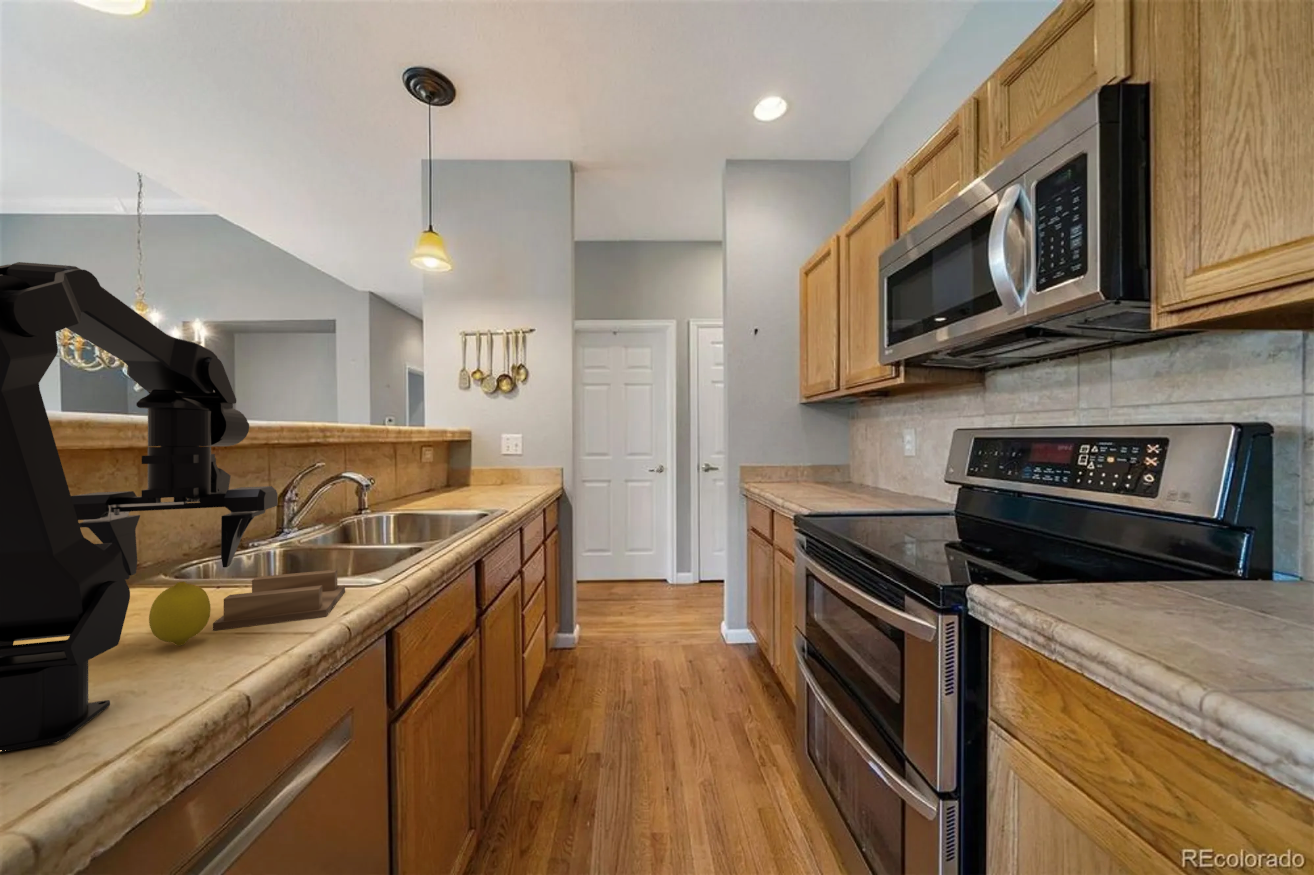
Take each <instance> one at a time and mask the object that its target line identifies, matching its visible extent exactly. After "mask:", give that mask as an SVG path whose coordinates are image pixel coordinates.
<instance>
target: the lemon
mask: <svg viewBox="0 0 1314 875" xmlns="http://www.w3.org/2000/svg"><path fill="white" fill-rule="evenodd" d="M210 615H211V602H210V598H209V596H208V593H207V592H206V591H205V589H203V588H202V587H200V586H198V585H196V584H191V583H187V582H185V581H179V582H176V583H175V584H174V585H173V586H170V587H168V588H166V589H165V590H163V591H162V592H160V594H159V595H157V597H155V599H154V601H153V602H152V604H151V608H150V611H149V615H148V623H149V628H150V631H151V633H152V634H153V636H154V637H155V638H157V639H158V640H159V641H162V642H166V643H172V644H174V645H176V646H183V645H185V644H186V643H187V642H188V641H189V640H190V639H192V638H194V637H195V636H197V635H198V634H199V633H201V631H203V630H204V629H205V627H206V626H207V624H208V622H209V620H210V617H211V616H210Z"/></svg>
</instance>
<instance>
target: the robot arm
mask: <svg viewBox="0 0 1314 875" xmlns="http://www.w3.org/2000/svg"><path fill="white" fill-rule="evenodd" d="M65 329H67V330H69V331H71V332H72V333H74V334H76V336H79V337H81V338H82V339H84V340H86V341H87V342H89V343H91V344H92V345H94V346H96V347H98V348H99V349H102V350H103V351H105V352H106V353H108V354H110V355H112V356H114V357H115V358H117V359H118V360H121V361H122V362H123V363H124V364H126V365H127V366H126V370H127V372H126V374H127V376H128V377H129V378H130V379H131V380H133V381H134V382H135V383H137V384H138V385H139V386H141V388H142V389H144V390H146V392H148V394H147V395H145V396H144V397H142V398H140V399H139V400H138V401H137V402H136V404H135V405H136V407H137V408H138V409H147V455H141V465H147V489H142V490H141V496H137V494H136V493H135V492H134V491H133V490H130V491H107V492H106V491H104V492H103V491H100V492H99V491H98V492H92V493H91V492H90V493H84V494H83V493H82V494H76V495H75V494H74V495H71V492H70V489H69V485H68V482H67V478H66V474H65V472H64V469H63V465H62V462H61V459H60V458H61V457H60V455H59V454H60V453H59V452H58V451H59V450H58V448H57V444H56V441H55V438H54V434H53V431H52V427H51V423H50V420H49V417H48V413H47V410H46V406H45V404H44V400H43V396H42V392H41V390H40V388H41V387H40V382H41V380H42V379H43V377H44V376H45V374H46V372H47V371H48V369H49V368H50V366H51V364H52V363H53V361H55V358H56V357H57V355H58V352H59V347H58V342H57V341H58V338H57V332H59V331H61V330H65ZM232 387H233V386H232V385H231V382H230V379H229V377H228V375H227V372H226V369H225V368H224V365H223V362H222V361H221V360H220V359H219V358H218V356H217V355H216V353H214V351H212V350H211V349H209V348H207V347H205V346H203V345H201V344H199V343H197V342H193V341H189V340H185V339H181V338H177V337H173V336H171V335H170V334H167V333H165V332H164V331H163V330H162V329H160V328H159V327H158V326H156V325H155V324H153V323H152V322H151V321H149V320H148V319H147V318H145V317H143V316H142V315H141V314H140V313H138V312H137V311H135V310H134V309H133V308H131V307H130V306H128V305H127V304H126V303H125V302H123V301H122V300H120V299H119V298H118V297H116V296H115V295H113V294H112V293H111V292H109V291H108V290H107V289H106V288H104V287H103V286H101V284H100V282H99V281H98V278H97V277H96V276H95V275H94V274H93V272H90V271H88V270H87V269H81V268H80V267H77V265H76V266H75V265H66V264H65V265H62V264H53V263H52V264H51V263H50V264H49V263H37V262H35V263H34V262H22V261H18V262H17V261H16V262H14V263H11V264H4V265H0V750H2V751H5V750H6V751H5V752H9V751H8V750H10V751H15V750H16V751H17V750H21V749H27V748H32V747H37V746H44V745H50V744H55V743H58V742H59V743H60V742H62V741H64V740H66V739H68V738H69V737H70V736H72V734H75V732H76V731H78V730H79V729H81V728H82V727H83V726H85V725H86V724H87V723H88V722H90V721H91V720H93V719H94V718H95V717H97V716H98V715H99V714H101V713H102V712H103V711H104V710H106V709H107V708H108V707H110V706H111V700H110V699H106V700H99V701H94V702H93V701H91V702H89V660H91V659H93V658H96V657H98V656H99V655H101V654H103V653H105V652H107V651H109V650H111V649H113V648H115V647H117V646H119V644H120V639H121V636H122V632H123V628H124V623H125V620H126V616H127V612H128V608H129V604H130V598H131V591H130V587H129V585H128V584H127V581H126V580H129V579H130V578H131V577H130V576H133V575H135V574H137V568H138V550H137V549H138V548H137V536H136V529H137V526H138V523H139V521H140V517H141V515H140V514H138V515H137V514H135V515H134V514H133V515H131V514H130V515H129V513H131V512H144V511H145V512H146V511H147V512H148V511H169V510H188V509H190V510H191V509H208V508H213V509H214V508H226V509H227V510H228V511H230V512H229V513H226V514H224V515H221V521H220V522H221V524H220V525H221V533H220V534H221V537H220V541H221V542H220V557H221V558H220V559H221V565H222V568H229V567H230V566H231V564H232V561H233V559H234V557H235V554H236V552H237V550H238V547H239V545H240V542H241V539H242V538H243V536H244V534H245V532H246V530H247V528H248V526H249V525H250V524H251V522H252V521H253V520H254V518H256V517H257V516H261V515H262V514H265V513H266V510H269V509H272V508H275V507H277V506H278V504H279V503H278V498H279V496H278V495H279V494H278V491H277V490H276V489H275V487H273V486H272V485H271V486H270V485H269V486H268V485H267V486H246V487H245V486H241V487H235V488H231V489H230V483H231V475H230V474H229V473H228V472H226V471H225V470H223V469H222V468H219V467H218V466H217V458H216V454H215V453H212V447H231V446H235V445H237V444H239V443H241V442H243V440H245V439H246V437H247V435H248V434H249V430H250V423H249V421H248V419H247V417H246V415H244V413H242V412H241V411H240V410H238V409H236V408H234V405H235V404H236V403H237V398H236V395H235V392H234V390H233V388H232ZM164 498H165V499H166V498H173V501H162V499H164ZM80 521H82V522H80ZM81 528H87V529H89V530H90V531H91V532H92V533H93V535H95V537H96V538H97V539H98V540H100V541H101V543H93V542H92V541H90V540H89V539H87V538H86V537H84V534H83V533H82V529H81ZM62 637H68V639H61V640H51V641H43V642H42V641H41V642H40V641H39V642H32V643H31V642H30V643H19V644H14V642H19V641H20V642H21V641H30V640H32V641H33V640H40V639H50V638H51V639H52V638H62Z"/></svg>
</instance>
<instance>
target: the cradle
mask: <svg viewBox="0 0 1314 875" xmlns="http://www.w3.org/2000/svg"><path fill="white" fill-rule="evenodd" d="M345 592H346V585H338V569H327V570H317V571H315V570H314V571H308V572H307V571H304V572H297V573H295V572H294V573H285V574H284V573H283V574H275V575H263V576H256V577H255V578H253V579H251V592H246V593H235V594H229V595H227V596H226V597H225V598H223V615H222V616H220V617H219V618H218V619H216V620H215V621H214V622H212V631H221V630H228V629H237V628H245V627H252V626H253V627H254V626H261V625H270V624H277V623H285V622H293V621H295V622H296V621H301V620H308V619H309V620H310V619H319V618H327V617H328V616H329V614H330V612H331V611H332V610H333V608H334V607H335V606H336V604H337V603H338V602H337V601H339V600H340V599H341V598H342V596H343V595H344V594H345ZM343 593H344V594H343ZM342 594H343V595H342ZM340 597H341V598H340ZM339 598H340V599H339ZM336 602H337V603H336ZM334 605H335V606H334ZM333 606H334V607H333ZM328 613H329V614H328ZM318 617H319V618H318Z"/></svg>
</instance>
